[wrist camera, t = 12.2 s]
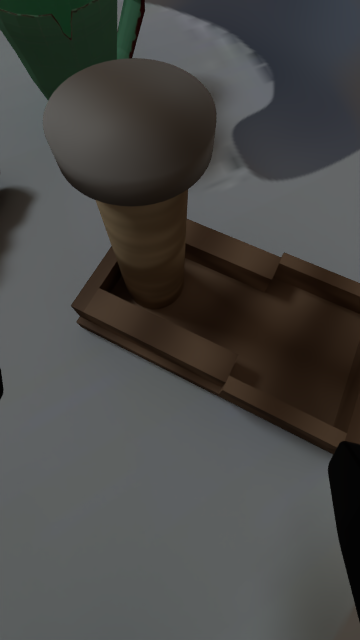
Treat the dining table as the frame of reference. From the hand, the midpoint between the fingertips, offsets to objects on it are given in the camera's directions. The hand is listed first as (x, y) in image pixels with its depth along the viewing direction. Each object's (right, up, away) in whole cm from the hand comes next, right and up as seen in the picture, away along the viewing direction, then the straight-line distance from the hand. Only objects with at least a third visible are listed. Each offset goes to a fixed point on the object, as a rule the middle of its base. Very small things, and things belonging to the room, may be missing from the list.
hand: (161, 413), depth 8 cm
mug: (-8, +26, +24) cm, 36 cm away
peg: (-1, +5, +15) cm, 16 cm away
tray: (+4, +2, +15) cm, 16 cm away
